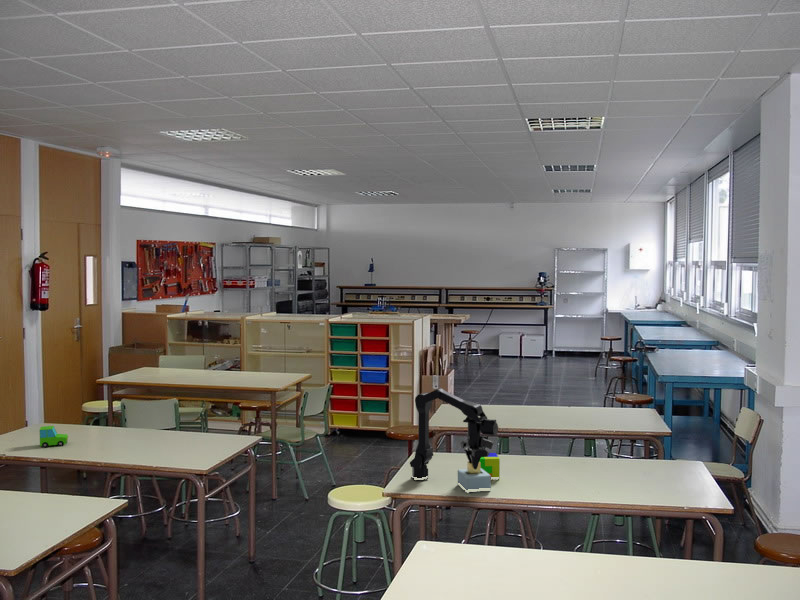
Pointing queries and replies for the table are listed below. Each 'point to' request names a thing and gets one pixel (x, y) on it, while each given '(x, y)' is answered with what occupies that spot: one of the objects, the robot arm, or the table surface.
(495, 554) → the table surface
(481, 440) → the robot arm
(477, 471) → the token
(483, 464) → the puzzle toy
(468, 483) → the money box
